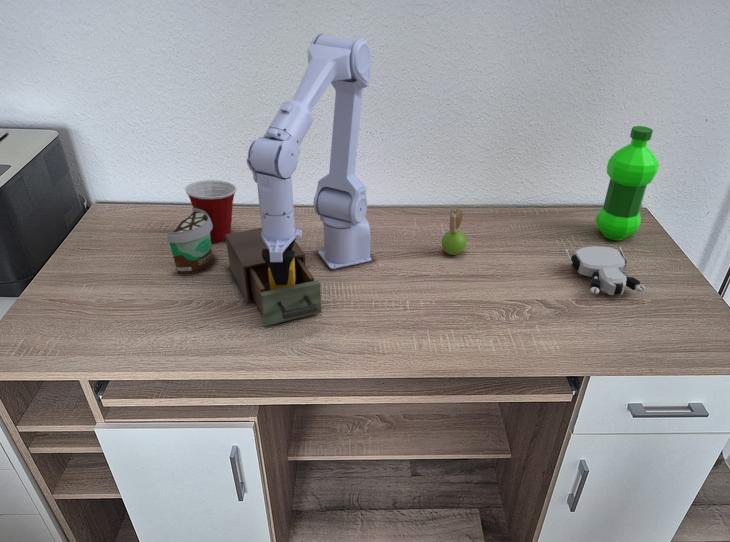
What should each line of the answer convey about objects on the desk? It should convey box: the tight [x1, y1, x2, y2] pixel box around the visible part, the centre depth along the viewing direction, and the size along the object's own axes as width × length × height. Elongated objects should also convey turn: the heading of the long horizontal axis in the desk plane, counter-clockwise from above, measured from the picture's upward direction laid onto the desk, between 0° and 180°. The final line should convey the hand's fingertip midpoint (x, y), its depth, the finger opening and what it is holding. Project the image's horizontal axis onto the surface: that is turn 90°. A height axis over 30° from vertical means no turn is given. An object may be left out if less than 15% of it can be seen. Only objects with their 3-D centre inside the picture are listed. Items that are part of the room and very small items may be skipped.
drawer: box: [247, 258, 322, 327], centre depth 115 cm, size 18×11×6 cm, turn 25°
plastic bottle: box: [595, 125, 660, 241], centre depth 138 cm, size 10×10×25 cm
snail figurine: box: [440, 208, 468, 256], centre depth 133 cm, size 5×6×12 cm
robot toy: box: [565, 245, 646, 296], centre depth 127 cm, size 12×4×15 cm
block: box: [268, 258, 296, 290], centre depth 113 cm, size 4×4×4 cm
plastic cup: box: [184, 179, 238, 244], centre depth 137 cm, size 11×11×12 cm
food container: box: [166, 207, 213, 275], centre depth 127 cm, size 12×6×10 cm, turn 168°
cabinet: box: [225, 227, 307, 304], centre depth 124 cm, size 14×12×8 cm
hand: (282, 276), depth 114 cm, fingers closed on block, 4 cm apart
